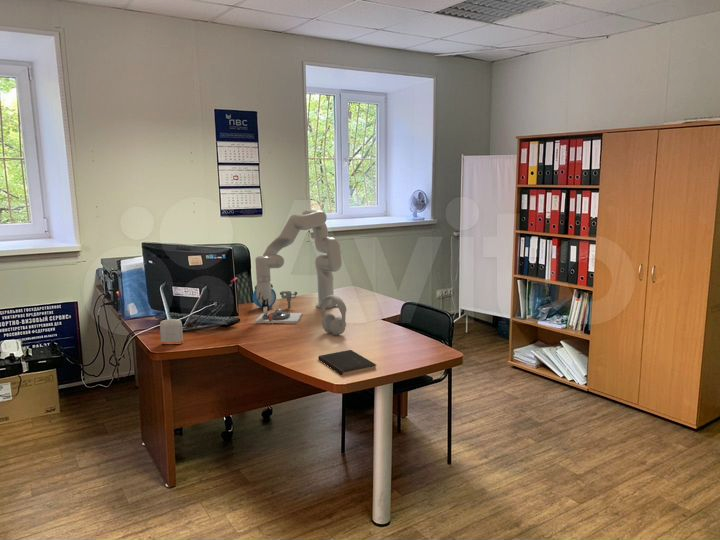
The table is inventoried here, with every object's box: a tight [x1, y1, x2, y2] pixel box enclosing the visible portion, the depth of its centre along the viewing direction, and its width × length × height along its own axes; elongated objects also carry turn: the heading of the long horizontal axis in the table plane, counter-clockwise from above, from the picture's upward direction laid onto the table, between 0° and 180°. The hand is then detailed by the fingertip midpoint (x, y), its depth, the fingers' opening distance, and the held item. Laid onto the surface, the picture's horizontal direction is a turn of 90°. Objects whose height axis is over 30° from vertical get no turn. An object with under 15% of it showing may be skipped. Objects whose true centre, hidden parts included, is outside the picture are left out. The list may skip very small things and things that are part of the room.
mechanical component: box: [279, 290, 298, 309], centre depth 332 cm, size 3×10×10 cm, turn 89°
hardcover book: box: [317, 349, 378, 376], centre depth 233 cm, size 16×23×2 cm
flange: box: [262, 307, 291, 319], centre depth 305 cm, size 15×12×6 cm
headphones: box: [320, 294, 347, 336], centre depth 275 cm, size 18×8×20 cm, turn 39°
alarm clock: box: [252, 282, 277, 310], centre depth 333 cm, size 13×6×15 cm, turn 125°
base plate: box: [254, 312, 303, 325], centre depth 306 cm, size 23×17×4 cm
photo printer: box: [159, 318, 184, 343], centre depth 265 cm, size 10×4×12 cm, turn 94°
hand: (265, 310), depth 306 cm, fingers closed
